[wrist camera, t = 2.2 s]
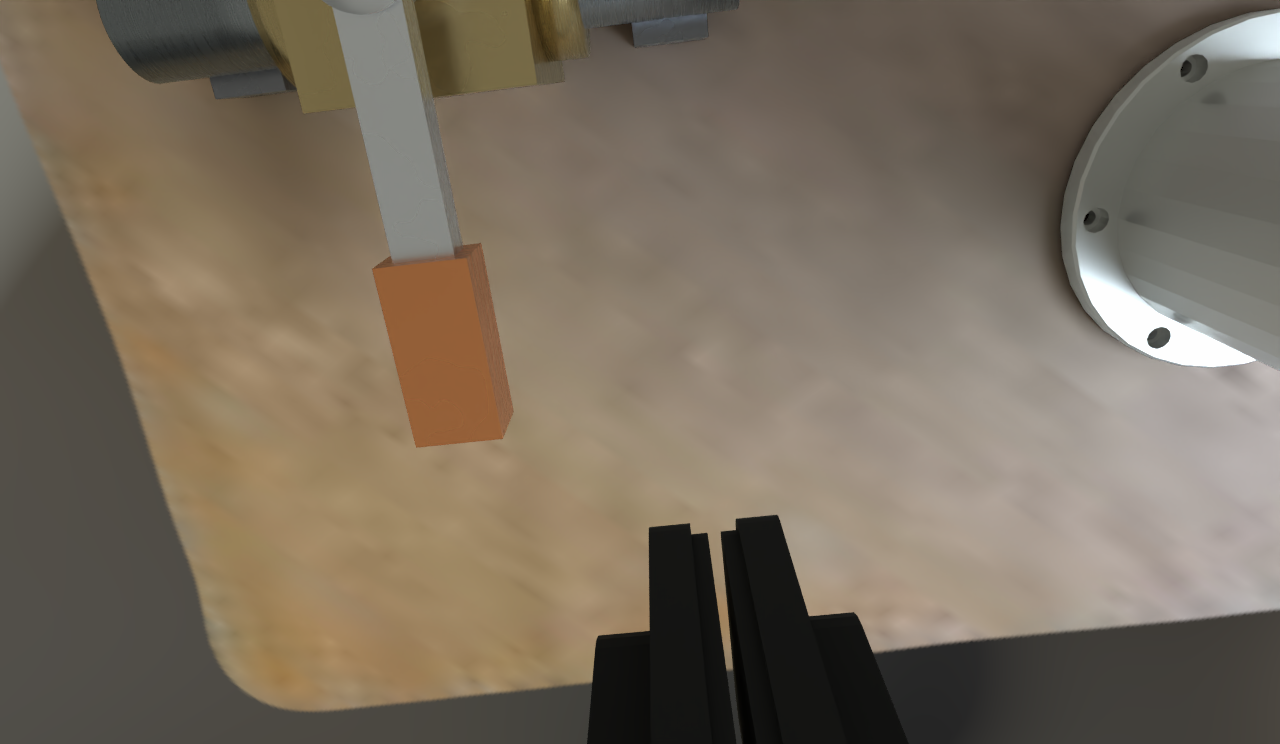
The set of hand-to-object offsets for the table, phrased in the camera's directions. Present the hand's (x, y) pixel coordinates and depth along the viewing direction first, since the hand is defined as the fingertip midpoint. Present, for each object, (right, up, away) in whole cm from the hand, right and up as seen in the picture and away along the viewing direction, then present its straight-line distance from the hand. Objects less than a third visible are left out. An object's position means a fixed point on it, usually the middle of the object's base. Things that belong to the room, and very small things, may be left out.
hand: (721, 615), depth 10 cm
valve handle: (-7, +8, +10) cm, 15 cm away
